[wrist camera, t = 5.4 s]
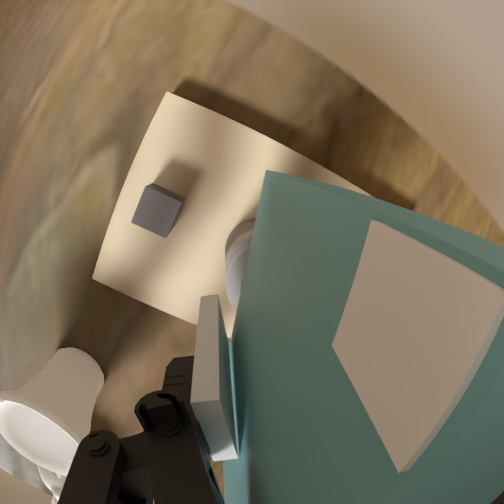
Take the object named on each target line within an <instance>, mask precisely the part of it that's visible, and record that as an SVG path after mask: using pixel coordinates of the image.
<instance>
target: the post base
mask: <svg viewBox="0 0 504 504" xmlns="http://www.w3.org/2000/svg"><path fill="white" fill-rule="evenodd" d="M266 170H270V171H275V172H279V173H284V174H288V175H293V176H297V177H302V178H306V179H310V180H315V181H319V182H323V183H327V184H331V185H335V186H339V187H342V188H346V189H349V190H352V191H355V192H358V193H361V194H365V195H368V196H371V195H370V194H368V193H366V192H365V191H363V190H362V189H360V188H358V187H357V186H355V185H353V184H352V183H350V182H348V181H347V180H345V179H343V178H342V177H340V176H338V175H337V174H335V173H333V172H331V171H330V170H328V169H326V168H324V167H323V166H321V165H319V164H317V163H316V162H314V161H312V160H310V159H308V158H307V157H305V156H303V155H301V154H299V153H297V152H296V151H294V150H292V149H290V148H288V147H286V146H284V145H282V144H280V143H278V142H276V141H275V140H273V139H271V138H269V137H267V136H265V135H263V134H261V133H259V132H257V131H255V130H253V129H251V128H248V127H246V126H244V125H242V124H240V123H238V122H236V121H234V120H232V119H229V118H227V117H225V116H223V115H221V114H218V113H216V112H214V111H212V110H210V109H207V108H205V107H203V106H200V105H198V104H196V103H193V102H191V101H189V100H186V99H184V98H181V97H179V96H176V95H174V94H171V93H169V92H166V94H165V96H164V98H163V100H162V102H161V104H160V106H159V108H158V110H157V112H156V114H155V116H154V118H153V120H152V122H151V124H150V126H149V128H148V130H147V132H146V135H145V137H144V139H143V141H142V143H141V146H140V148H139V150H138V152H137V155H136V157H135V159H134V162H133V164H132V166H131V169H130V171H129V173H128V176H127V178H126V181H125V183H124V186H123V188H122V191H121V194H120V196H119V199H118V201H117V204H116V207H115V209H114V212H113V215H112V218H111V221H110V223H109V226H108V229H107V232H106V235H105V238H104V241H103V244H102V247H101V250H100V254H99V257H98V260H97V263H96V267H95V270H94V274H93V277H92V279H94V280H96V281H98V282H100V283H102V284H104V285H106V286H108V287H111V288H113V289H115V290H117V291H119V292H121V293H123V294H126V295H128V296H130V297H132V298H134V299H137V300H139V301H141V302H143V303H145V304H148V305H150V306H152V307H155V308H157V309H159V310H162V311H164V312H166V313H169V314H171V315H173V316H176V317H178V318H180V319H183V320H185V321H188V322H190V323H193V324H195V325H198V317H199V308H200V300H201V296H207V295H214V294H218V296H219V300H220V305H221V310H222V315H223V320H224V325H225V329H226V334H227V337H229V338H231V336H232V331H233V326H234V321H235V316H236V311H237V307H238V302H239V297H240V287H241V281H242V279H243V276H244V273H245V268H246V263H247V258H248V253H249V249H250V244H251V239H252V234H253V229H254V225H255V220H256V215H257V210H258V205H259V200H260V196H261V191H262V186H263V181H264V177H265V172H266ZM371 197H373V196H371Z"/></svg>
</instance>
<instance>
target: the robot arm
mask: <svg viewBox="0 0 504 504" xmlns="http://www.w3.org/2000/svg"><path fill="white" fill-rule="evenodd" d="M134 412H135V414H136V416H137V418H138V420H139V422H140V424H141V425H142V427H143V429H144V431H143V432H142V433H139V434H137V435H133V436H130V437H126V438H122V439H119V438H118V437H117V435H115V434H114V433H112V432H110V431H105V430H101V431H95V432H92V433H90V434H88V435H87V436H86V437H84V438H83V439H82V440H81V442H80V444H79V445H78V448H77V450H76V453H75V456H74V458H73V461H72V464H71V466H70V469H69V472H68V474H67V477H66V480H65V483H64V486H63V489H62V491H61V494H60V497H59V500H58V503H57V504H153V497H154V502H155V504H225V503H224V500H223V497H222V495H221V492H220V489H219V486H218V483H217V480H216V477H215V474H214V472H213V470H212V467H211V465H210V454H211V456H212V459H213V461H220V460H229V459H238V453H237V442H236V431H235V419H234V407H233V394H232V381H231V367H230V352H229V343H228V339H227V334H226V329H225V325H224V320H223V315H222V310H221V305H220V300H219V296H218V294H214V295H207V296H201V300H200V308H199V317H198V326H197V336H196V345H195V355H194V356H187V357H178V358H173V360H172V361H171V362H170V363H169V365H168V366H167V367H166V372H165V379H164V382H163V387H162V390H159V391H154V392H151V393H149V394H147V395H145V396H144V397H142V398H141V399H140V400H139V401H138V403H137V404H136V406H135V410H134ZM491 504H504V491H503V492H502V493H501V494H500V495H499V496H498V497H497V498H496V499H495V500H494V501H493V502H492V503H491Z"/></svg>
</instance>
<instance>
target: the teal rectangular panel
mask: <svg viewBox="0 0 504 504" xmlns="http://www.w3.org/2000/svg"><path fill="white" fill-rule="evenodd" d="M229 352H230V367H231V381H232V394H233V407H234V419H235V431H236V442H237V453H238V459H229V460H223V470H224V494H225V504H491V503H492V502H493V501H494V500H495V499H496V498H497V497H498V496H499V495H500V494H501V493H502V492H503V491H504V247H501V246H499V245H497V244H495V243H492V242H490V241H488V240H485V239H483V238H481V237H478V236H476V235H474V234H471V233H469V232H466V231H464V230H461V229H459V228H456V227H454V226H451V225H449V224H446V223H444V222H441V221H439V220H436V219H433V218H431V217H428V216H425V215H423V214H420V213H417V212H414V211H412V210H409V209H406V208H403V207H400V206H397V205H395V204H392V203H389V202H386V201H383V200H380V199H377V198H374V197H371V196H368V195H365V194H361V193H358V192H355V191H352V190H349V189H346V188H342V187H339V186H335V185H331V184H327V183H323V182H319V181H315V180H310V179H306V178H302V177H297V176H293V175H288V174H284V173H279V172H275V171H270V170H266V172H265V177H264V181H263V186H262V191H261V196H260V200H259V205H258V210H257V215H256V220H255V225H254V229H253V234H252V239H251V244H250V249H249V253H248V258H247V263H246V268H245V273H244V276H243V279H242V281H241V287H240V297H239V302H238V307H237V311H236V316H235V321H234V326H233V331H232V336H231V341H230V346H229Z"/></svg>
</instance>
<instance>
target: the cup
mask: <svg viewBox="0 0 504 504" xmlns="http://www.w3.org/2000/svg"><path fill="white" fill-rule="evenodd" d="M103 385H104V375H103V372H102V370H101V368H100V366H99V365H98V363H97V362H96V361H95V360H94V359H93V358H92V357H91V356H90V355H88V354H87V353H86V352H84V351H82V350H80V349H77V348H73V347H67V348H61V349H58V351H57V352H56V353H55V354H54V355H53V357H52V358H51V359H50V360H49V362H48V363H47V364H46V366H45V367H44V368H43V370H42V371H41V372H40V373H39V374H38V375H37V376H36V377H35V378H33V379H32V380H30V381H29V382H27V383H25V384H24V386H23V387H21V388H19V389H17V390H15V391H9V390H1V391H0V433H1V434H2V435H3V437H4V438H5V439H6V440H7V442H8V443H9V444H10V445H11V446H12V447H13V448H15V449H16V450H17V451H18V452H19V453H20V454H22V455H23V456H24V457H26V458H27V459H29V460H30V461H32V462H34V463H35V464H37V465H39V466H41V467H43V468H45V469H47V470H49V471H52V472H55V473H58V474H61V475H64V476H67V474H68V472H69V469H70V466H71V464H72V461H73V458H74V456H75V453H76V450H77V448H78V445H79V444H80V442H81V440H82V439H83V438H84V437H86V436H87V435H88V434H89V433H90V428H91V418H92V413H93V409H94V405H95V402H96V399H97V397H98V394H99V393H100V391H101V389H102V387H103Z"/></svg>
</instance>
